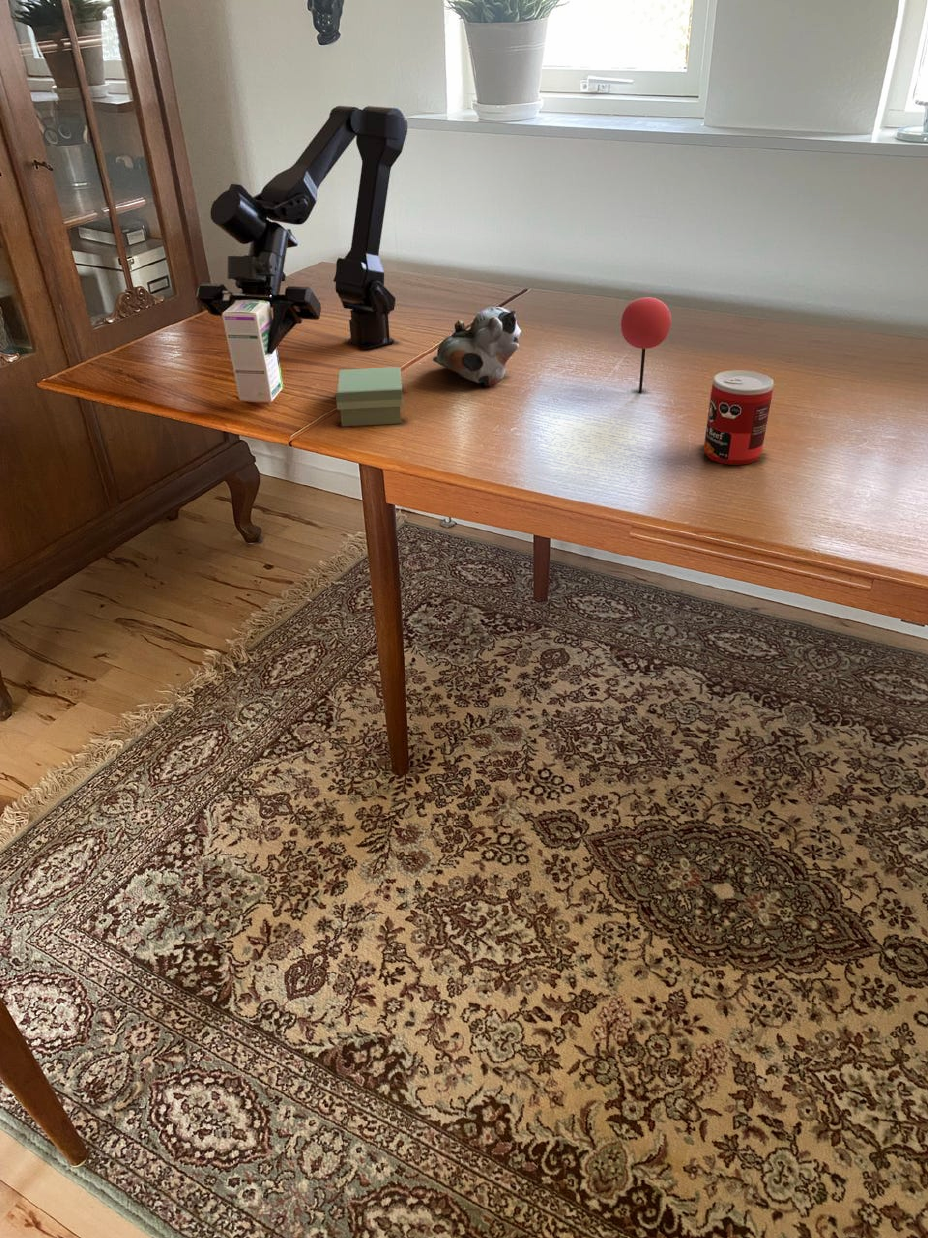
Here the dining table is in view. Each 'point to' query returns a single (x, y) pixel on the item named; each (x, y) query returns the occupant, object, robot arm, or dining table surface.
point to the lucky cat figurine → (481, 346)
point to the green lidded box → (369, 396)
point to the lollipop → (645, 325)
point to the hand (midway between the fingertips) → (250, 351)
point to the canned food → (737, 416)
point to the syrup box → (252, 350)
